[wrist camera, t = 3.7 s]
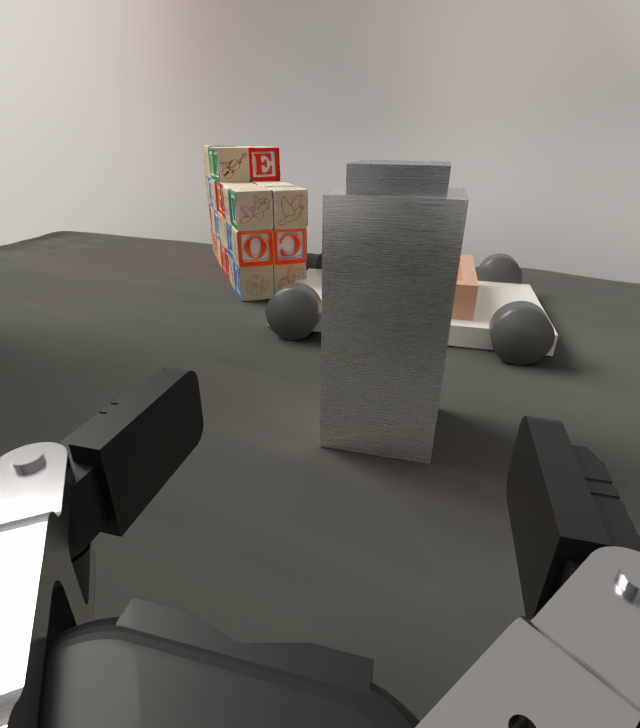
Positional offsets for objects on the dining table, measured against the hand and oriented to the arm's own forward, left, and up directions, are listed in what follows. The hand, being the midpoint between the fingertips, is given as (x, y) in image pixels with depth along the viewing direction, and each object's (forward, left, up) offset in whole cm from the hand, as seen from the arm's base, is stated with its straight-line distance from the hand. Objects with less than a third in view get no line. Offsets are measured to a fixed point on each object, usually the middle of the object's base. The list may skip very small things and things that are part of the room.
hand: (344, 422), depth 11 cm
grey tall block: (0, +10, -7) cm, 12 cm away
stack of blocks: (-17, +37, -7) cm, 41 cm away
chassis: (0, +27, -6) cm, 28 cm away
